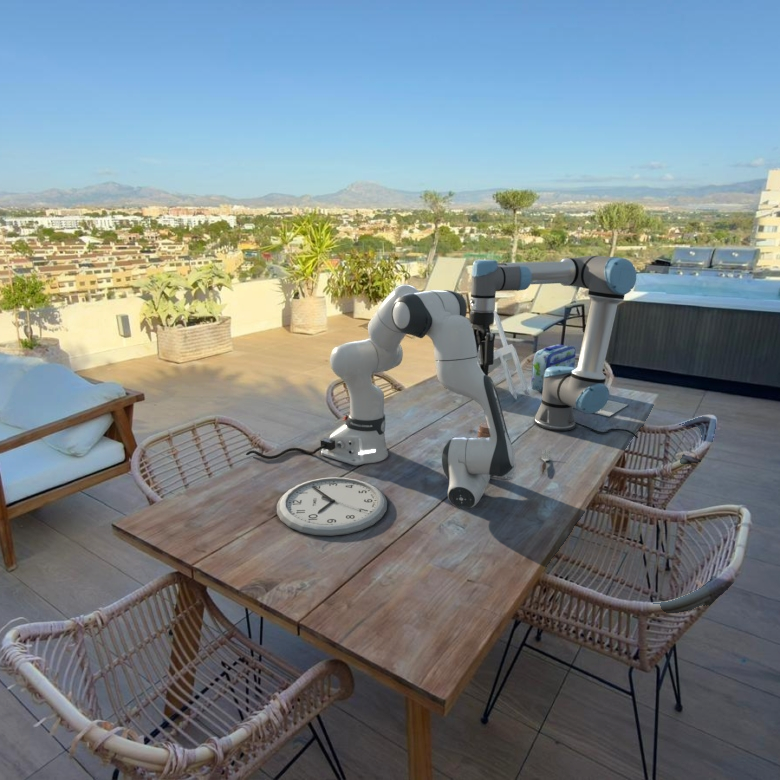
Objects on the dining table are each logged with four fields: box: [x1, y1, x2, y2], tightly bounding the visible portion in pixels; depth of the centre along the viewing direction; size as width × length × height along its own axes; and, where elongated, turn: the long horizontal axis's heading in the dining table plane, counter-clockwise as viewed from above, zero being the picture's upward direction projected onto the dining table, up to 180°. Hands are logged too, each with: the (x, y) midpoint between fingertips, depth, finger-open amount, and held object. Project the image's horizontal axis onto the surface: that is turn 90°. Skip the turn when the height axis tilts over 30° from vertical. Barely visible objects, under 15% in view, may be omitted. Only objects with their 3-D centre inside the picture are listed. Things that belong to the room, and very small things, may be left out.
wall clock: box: [276, 476, 388, 537], centre depth 142 cm, size 30×2×30 cm
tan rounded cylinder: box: [477, 422, 490, 438], centre depth 159 cm, size 5×5×17 cm
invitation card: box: [595, 399, 629, 418], centre depth 226 cm, size 21×1×15 cm
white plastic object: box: [477, 310, 531, 400], centre depth 245 cm, size 37×45×31 cm
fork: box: [541, 449, 551, 474], centre depth 169 cm, size 3×16×2 cm, turn 160°
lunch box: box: [530, 344, 577, 392], centre depth 247 cm, size 26×11×21 cm, turn 134°
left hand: (485, 454), depth 160 cm, fingers closed on tan rounded cylinder, 5 cm apart
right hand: (477, 381), depth 170 cm, fingers closed on lid, 6 cm apart
